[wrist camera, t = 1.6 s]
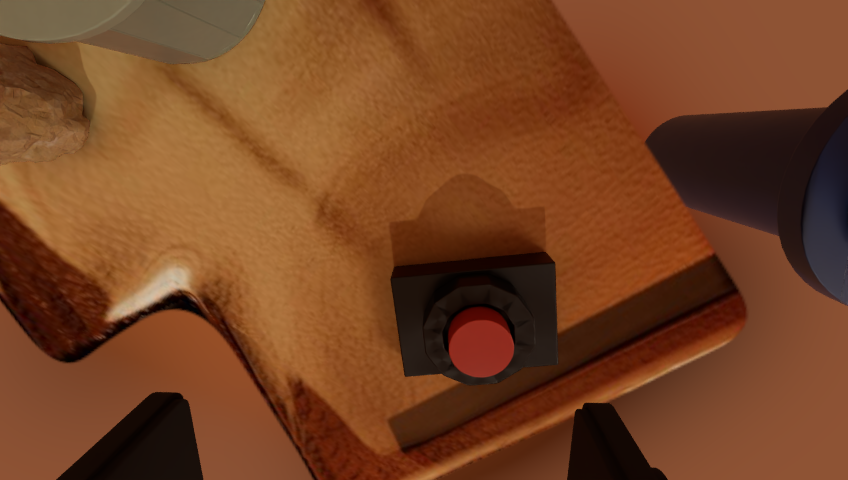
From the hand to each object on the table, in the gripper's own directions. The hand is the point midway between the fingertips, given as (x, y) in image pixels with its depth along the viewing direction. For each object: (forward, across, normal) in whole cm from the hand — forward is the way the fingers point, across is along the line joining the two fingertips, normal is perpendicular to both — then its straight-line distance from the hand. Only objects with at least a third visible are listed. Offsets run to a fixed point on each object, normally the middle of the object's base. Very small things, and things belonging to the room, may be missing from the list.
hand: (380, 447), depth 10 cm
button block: (+17, -4, +4) cm, 18 cm away
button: (+14, -4, +4) cm, 15 cm away
